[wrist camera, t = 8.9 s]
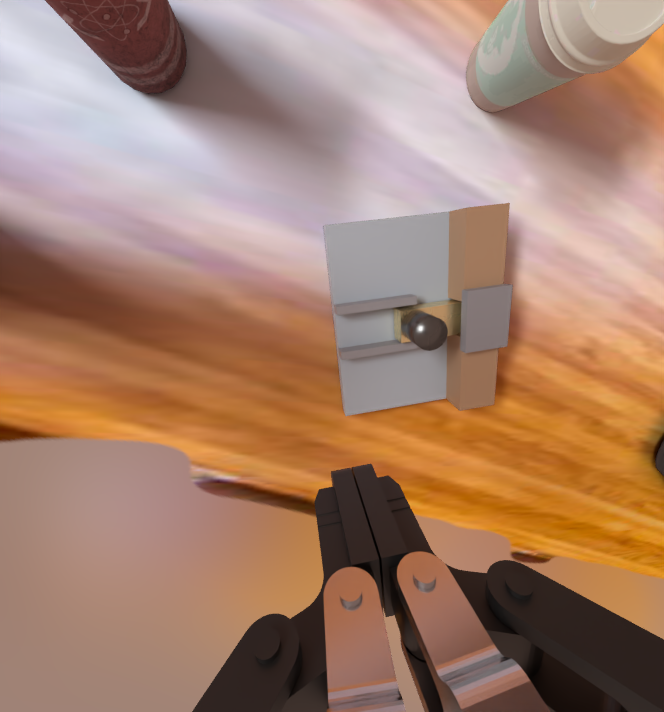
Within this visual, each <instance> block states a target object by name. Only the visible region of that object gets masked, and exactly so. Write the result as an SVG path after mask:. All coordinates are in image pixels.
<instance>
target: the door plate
mask: <svg viewBox="0 0 664 712" xmlns="http://www.w3.org/2000/svg"><path fill="white" fill-rule="evenodd" d="M509 205H510V203H506V204H497V205H488V206H478V207H469V208H463V209H459V210H455V211H450V212H442V213H433V214H423V215H414V216H405V217H396V218H387V219H378V220H369V221H360V222H350V223H341V224H332V225H325V226H323V229H324V239H325V248H326V257H327V266H328V275H329V284H330V293H331V302H332V311H333V321H334V330H335V339H336V348H337V357H338V366H339V375H340V384H341V394H342V403H343V410H344V413H345V416H349V415H354V414H360V413H366V412H372V411H377V410H383V409H389V408H394V407H400V406H406V405H411V404H417V403H423V402H428V401H434V400H440V399H447V400H448V401H450V402H451V403H452V404H453V405H454V406H455V407H456V408H457V409H458V410H459V411H462V410H467V409H473V408H478V407H484V406H489V405H494V401H495V388H496V375H497V362H498V349H499V348H501V347H507V344H508V333H509V321H510V310H511V298H512V287H513V285H510V284H503V283H504V270H505V257H506V244H507V231H508V218H509ZM451 299H454V300H458V301H461V302H462V304H461V334H457V335H451V336H447V338H446V340H445V342H444V343H443V345H442V346H440V347H439V348H438V349H435V350H432V351H426V350H423V349H421V348H420V347H419V346H417V345H416V344H414V343H413V342H412V341H411V342H405V343H401V342H399V341H398V340H397V339H396V338H395V334H394V311H393V308H394V307H401V306H409V305H416V304H423V303H430V302H437V301H444V300H451Z"/></svg>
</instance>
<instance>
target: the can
mask: <svg viewBox="0 0 664 712" xmlns="http://www.w3.org/2000/svg"><path fill="white" fill-rule="evenodd" d="M45 1H46V2H47V3H48V4H49V5H50V6H51V7H52V8H53V9H54V10H55V11H56V12H57V13H58V14H59V16H60V17H61V18H62V19H63V20H64V21H65V22H66V23H67V24H68V25H69V26H70V27H71V28H72V29H73V30H74V31H75V32H76V33H77V34H78V35H79V36H80V38H81V39H82V40H83V41H84V42H85V43H86V44H87V45H88V46H89V47H90V48H91V49H92V50H93V51H94V52H95V53H96V54H97V55H98V56H99V57H100V58H101V60H102V61H103V62H104V63H105V64H106V65H107V66H108V67H109V68H110V69H111V70H112V71H113V72H114V73H115V74H116V75H117V76H118V77H119V78H120V79H121V80H122V81H123V82H124V83H126V84H127V85H129V86H130V87H132V88H133V89H135V90H138V91H142V92H145V93H148V94H150V93H162V92H164V91H166V90H168V89H171V88H173V86H174V85H175V84H176V83H177V82H178V81H179V80H180V78H181V76H182V74H183V71H184V68H185V66H186V51H187V50H186V45H185V40H184V36H183V33H182V30H181V28H180V26H179V24H178V22H177V20H176V17H175V15H174V13H173V11H172V9H171V7H170V4H169V2H168V0H45Z"/></svg>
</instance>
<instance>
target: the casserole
mask: <svg viewBox="0 0 664 712" xmlns="http://www.w3.org/2000/svg"><path fill="white" fill-rule="evenodd" d="M655 463H656V468H657V469H658V470H659V472H660V473H661V474H662V475H663V476H664V440H663V442H662V444H661V446H660V448H659V450H658V453H657V456H656V459H655Z"/></svg>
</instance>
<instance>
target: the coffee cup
mask: <svg viewBox="0 0 664 712" xmlns="http://www.w3.org/2000/svg"><path fill="white" fill-rule="evenodd" d="M663 24H664V0H508V2H507V3H506V4H505V6H504V7H503V9H502V10H501V11H500V13H499V14H498V15H497V17H496V18H495V20H494V21H493V22H492V24H491V25H490V27H489V28H488V29H487V31H486V32H485V34H484V35H483V36H482V38H481V39H480V41H479V42H478V43H477V45H476V46H475V48H474V49H473V51H472V53H471V55H470V58H469V61H468V65H467V71H466V82H467V88H468V91H469V94H470V96H471V98H472V100H473V101H474V103H475V104H476V105H477V106H478V107H479V108H481V109H483V110H485V111H488V112H497V111H501V110H503V109H506V108H508V107H511V106H513V105H515V104H518V103H520V102H522V101H525V100H527V99H529V98H532V97H534V96H536V95H539V94H541V93H543V92H546V91H548V90H550V89H553V88H555V87H557V86H560V85H562V84H564V83H567V82H569V81H571V80H574V79H576V78H578V77H581V76H583V75H585V74H594V73H600V72H604V71H607V70H609V69H611V68H613V67H615V66H617V65H618V64H620V63H621V62H623V61H624V60H625V59H626V58H628V57H629V56H630V55H632V54H633V53H634V52H636V51H637V50H638V49H639V48H640V47H641V46H642V45H643V44H644V43H645V42H646V41H647V40H648V39H649V37H650V36H651V35H652V34H653V33H654V32H655V31H656V30H657V29H658V28H660V27H661V26H662V25H663Z"/></svg>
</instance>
